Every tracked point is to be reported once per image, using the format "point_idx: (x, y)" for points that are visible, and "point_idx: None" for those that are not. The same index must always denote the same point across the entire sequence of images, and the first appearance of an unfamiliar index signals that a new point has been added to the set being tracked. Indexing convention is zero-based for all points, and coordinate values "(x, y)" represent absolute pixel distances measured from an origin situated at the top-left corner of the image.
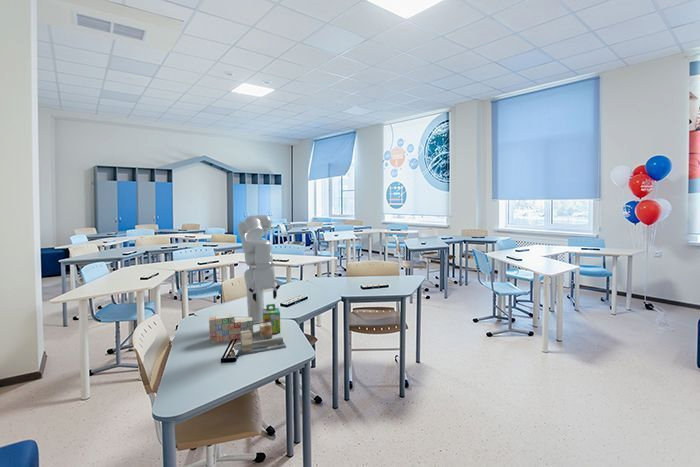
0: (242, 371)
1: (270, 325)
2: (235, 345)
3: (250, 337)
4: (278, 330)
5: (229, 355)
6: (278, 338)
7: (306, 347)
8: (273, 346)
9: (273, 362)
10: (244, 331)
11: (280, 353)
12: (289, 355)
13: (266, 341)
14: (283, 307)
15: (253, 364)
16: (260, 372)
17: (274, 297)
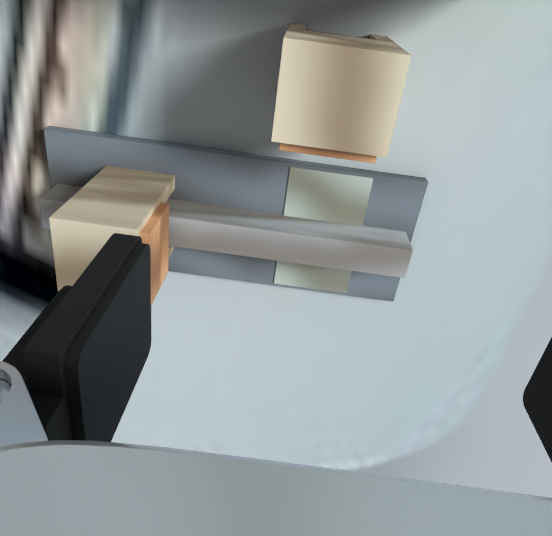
0: None
1: (374, 154)
2: (48, 216)
3: None
4: None
5: (30, 219)
6: (373, 264)
7: (493, 358)
8: (316, 274)
9: (252, 416)
10: (86, 236)
11: (323, 351)
12: (355, 394)
13: (276, 259)
14: None
15: (156, 388)
16: None
17: (538, 422)
